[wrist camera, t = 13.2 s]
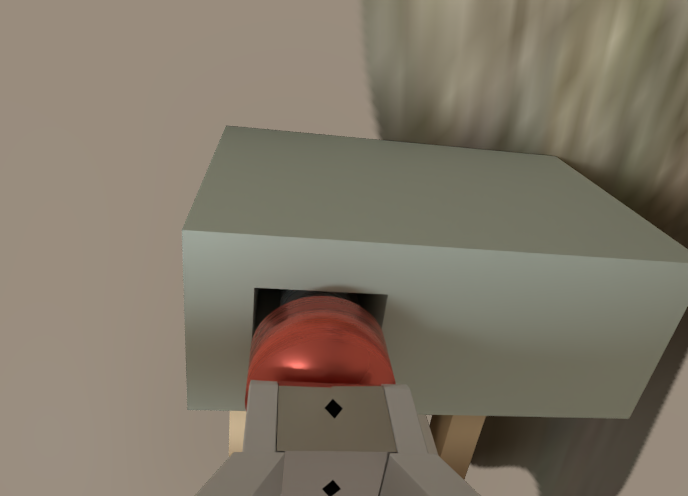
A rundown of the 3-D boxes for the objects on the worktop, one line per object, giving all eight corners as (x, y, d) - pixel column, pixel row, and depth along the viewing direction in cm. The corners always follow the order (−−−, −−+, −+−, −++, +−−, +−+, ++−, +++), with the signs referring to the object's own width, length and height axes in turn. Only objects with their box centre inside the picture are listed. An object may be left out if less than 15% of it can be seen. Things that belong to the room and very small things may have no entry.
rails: (237, 287, 20) (231, 316, 19) (497, 300, 22) (515, 329, 20) (230, 545, 28) (226, 583, 27) (422, 542, 30) (430, 578, 28)
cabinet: (226, 125, 17) (181, 229, 10) (555, 156, 19) (708, 264, 12) (224, 253, 20) (187, 409, 13) (518, 271, 21) (628, 418, 14)
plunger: (265, 185, 16) (247, 338, 9) (361, 192, 16) (409, 344, 10) (261, 268, 17) (242, 453, 11) (350, 273, 18) (384, 454, 11)
